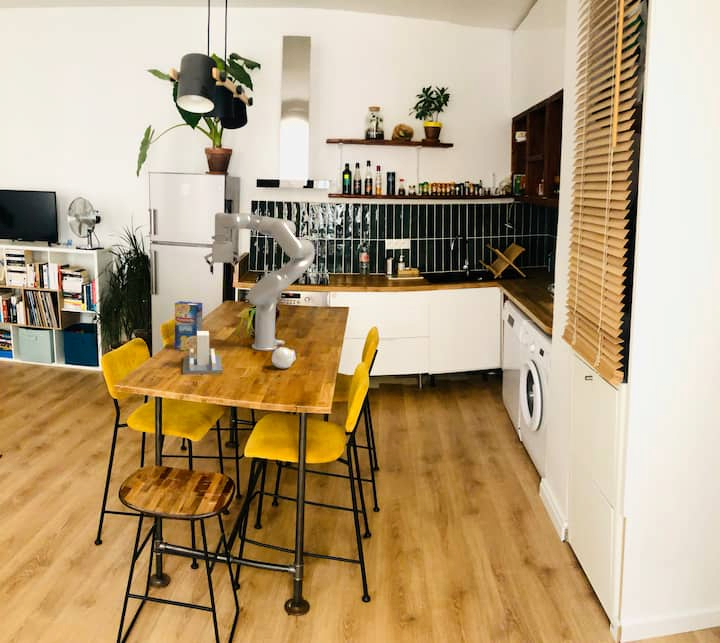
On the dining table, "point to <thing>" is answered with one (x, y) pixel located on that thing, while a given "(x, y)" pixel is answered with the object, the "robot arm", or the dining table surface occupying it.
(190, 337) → the blue food box
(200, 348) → the carton
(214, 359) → the grey slotted holder base
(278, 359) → the white rounded lump
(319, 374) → the dining table surface
